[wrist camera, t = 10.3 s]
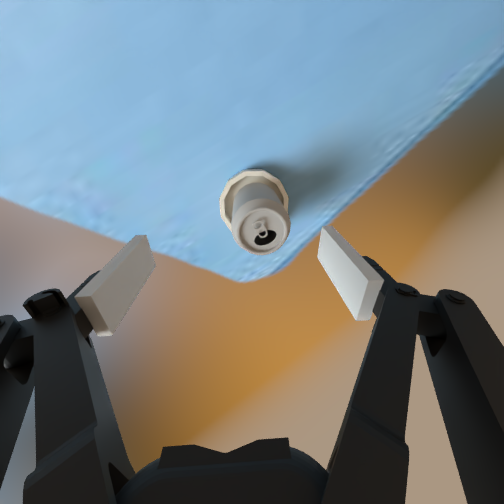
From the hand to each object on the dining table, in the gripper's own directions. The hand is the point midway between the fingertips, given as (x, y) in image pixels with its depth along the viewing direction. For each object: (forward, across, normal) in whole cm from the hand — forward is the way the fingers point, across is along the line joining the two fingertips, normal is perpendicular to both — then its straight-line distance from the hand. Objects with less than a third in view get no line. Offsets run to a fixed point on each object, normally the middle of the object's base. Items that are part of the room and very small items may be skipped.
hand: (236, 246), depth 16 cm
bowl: (+21, +2, -3) cm, 22 cm away
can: (+21, +3, -3) cm, 21 cm away
